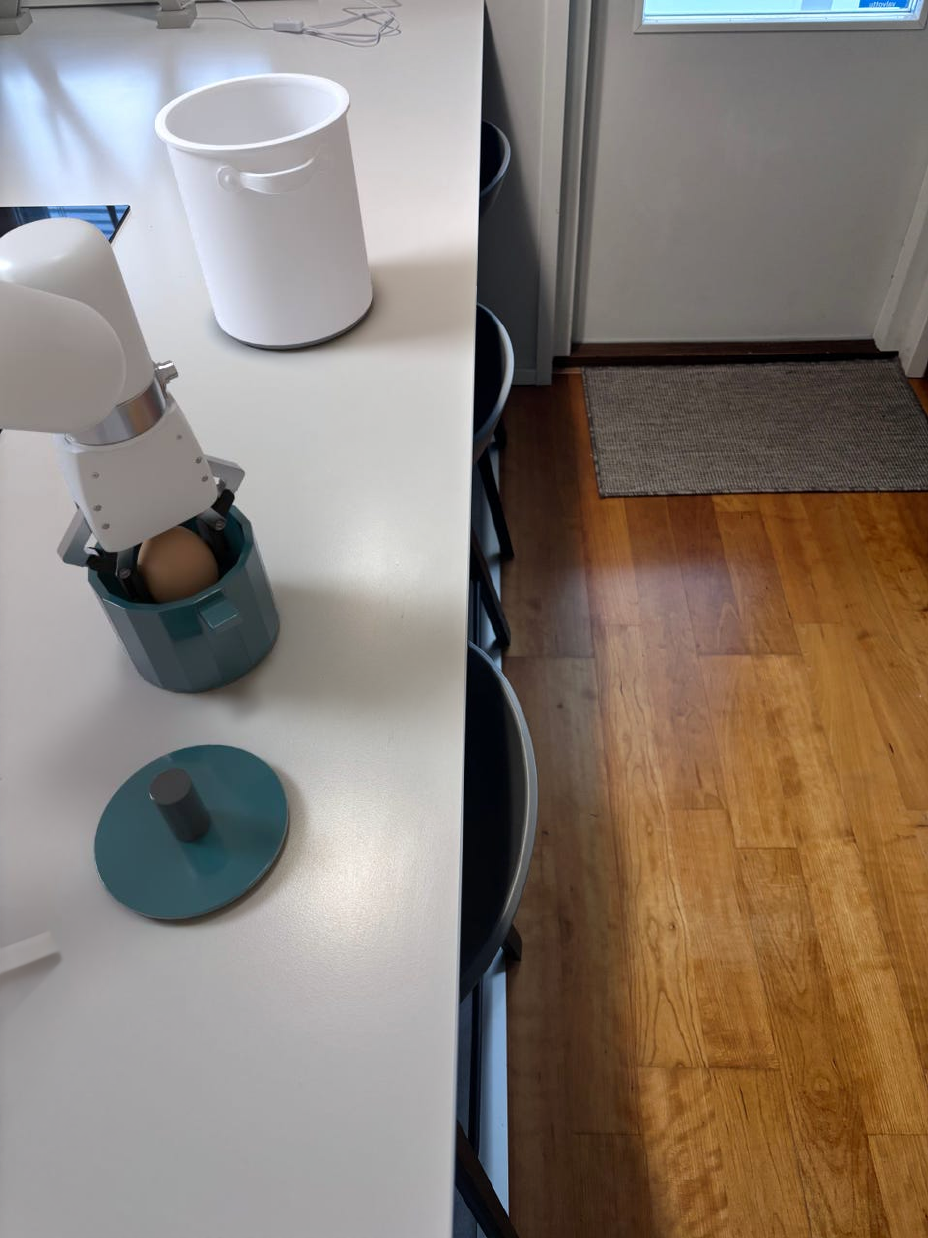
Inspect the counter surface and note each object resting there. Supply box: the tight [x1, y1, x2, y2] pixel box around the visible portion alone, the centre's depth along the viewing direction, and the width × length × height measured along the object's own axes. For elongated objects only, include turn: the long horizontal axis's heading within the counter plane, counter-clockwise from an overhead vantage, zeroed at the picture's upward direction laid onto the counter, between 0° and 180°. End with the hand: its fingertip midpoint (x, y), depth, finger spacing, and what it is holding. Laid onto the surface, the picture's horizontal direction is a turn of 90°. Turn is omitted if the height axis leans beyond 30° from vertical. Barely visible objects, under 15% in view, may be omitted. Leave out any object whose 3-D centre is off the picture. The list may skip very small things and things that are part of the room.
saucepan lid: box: [93, 744, 289, 920], centre depth 70 cm, size 15×15×7 cm
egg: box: [137, 526, 219, 605], centre depth 80 cm, size 6×6×8 cm
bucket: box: [154, 72, 373, 350], centre depth 114 cm, size 26×22×24 cm
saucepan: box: [87, 504, 280, 693], centre depth 82 cm, size 14×19×10 cm
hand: (181, 577), depth 81 cm, fingers closed on egg, 6 cm apart
